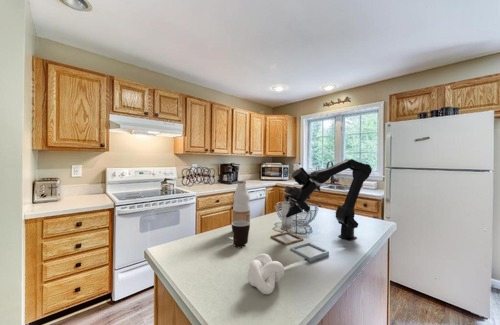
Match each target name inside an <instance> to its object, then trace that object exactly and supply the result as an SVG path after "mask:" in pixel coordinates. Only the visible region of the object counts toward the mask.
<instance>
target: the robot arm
mask: <svg viewBox="0 0 500 325" xmlns="http://www.w3.org/2000/svg"><path fill="white" fill-rule="evenodd" d="M348 169H349V170H350V171H352V181H351V184H350V186H349V190H348V192H347V194H346V197H345V200H344V202H343V204H342V205H341V206H340V205H338V206H337V207H336V208H337V209H336V211H335V219H336V220H337V222H338V224H340V225H341V226H340V234H338V238H341V239H344V240H347V241H353V240H355V239H358V237H357V236H355V229H357V228H358V227H359V222H357V221H356V220H355V205H356V202H357V200H358V197H359V194H360V192H361V191H362V186H363V184H364V182H365V181H366V180H368V178H369V177H370V175H371V174H372V171H373V168H372V166H371V165H370V163H369V164H368V163H362V162H361V161H360V162H359V161H357V160H355V159H353V158H345V159H344V160H342V161H339V162H338V163H336V164H334V165H331V166H329V167H327V168H322V169H318V170H314V171H312V172H311V173H308V172H307V171H306V169H305V168H303V167H300V168H297V169H296V170H294V171H293V172H292V173H291V178H292V179H293V180H294V181H295V182H296V183H297V184H298V185H299V186H301V185H302V186H301V187H300V188H298V187H296V186H292V187H291V186H289V185H286V186H285V188H284V193H285V194H284V195H283V198H284V199H285V201H287V202H292V207H291V209H290V210H289V212H288V213H287V215H286V217H287V218H288V217H291V216H292V217H293V216H295V215H298V214H301V213H304V212H305V213H307V214H308V213H309V212H310V211H311V206H309V204H308V203H307V202H306V201H307V200H310V199H311V196H312V195H313V194H314V192H315V191H317V192H321V185H319V184H325V183H326V182H328V181H329V180H330V179H331V178H332V177H333V176H335V175H337V174H339V173H341V172H343V171H345V170H348ZM316 183H317V184H316Z"/></svg>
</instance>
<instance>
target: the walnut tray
mask: <svg viewBox="0 0 500 325" xmlns="http://www.w3.org/2000/svg"><path fill="white" fill-rule="evenodd" d="M270 238H271V239H273V240H274V241H276V242H278V243H280V244H282V245H284V246H288V245H292V244H295V243H300V242H303V241H304V238H302V237H300V236H298V235H296V234H293V233H291V232H289V231H285V232H280V233H277V234H273V235H270Z"/></svg>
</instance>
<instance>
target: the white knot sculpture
mask: <svg viewBox="0 0 500 325" xmlns="http://www.w3.org/2000/svg"><path fill="white" fill-rule="evenodd" d="M247 273H248V274H247V279H248V280H247V281H248V283H249V285H251V287H254V288H256V289H257V290H258V291H259V292H260V293H262V294H263V295H271V294H272V292H273V291H274V289H275V285H276V282H278V281H280V280H281V279H282V278H283V276H284V274H285V267H284V265H283V263H281V262H279V261H277V260H272V257H271V256H270V255H269V254H267V253H259V254H257V255H256V256H255V257H254V258H253V259H252V260H251V262H250V264H249V268H248V272H247Z"/></svg>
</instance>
